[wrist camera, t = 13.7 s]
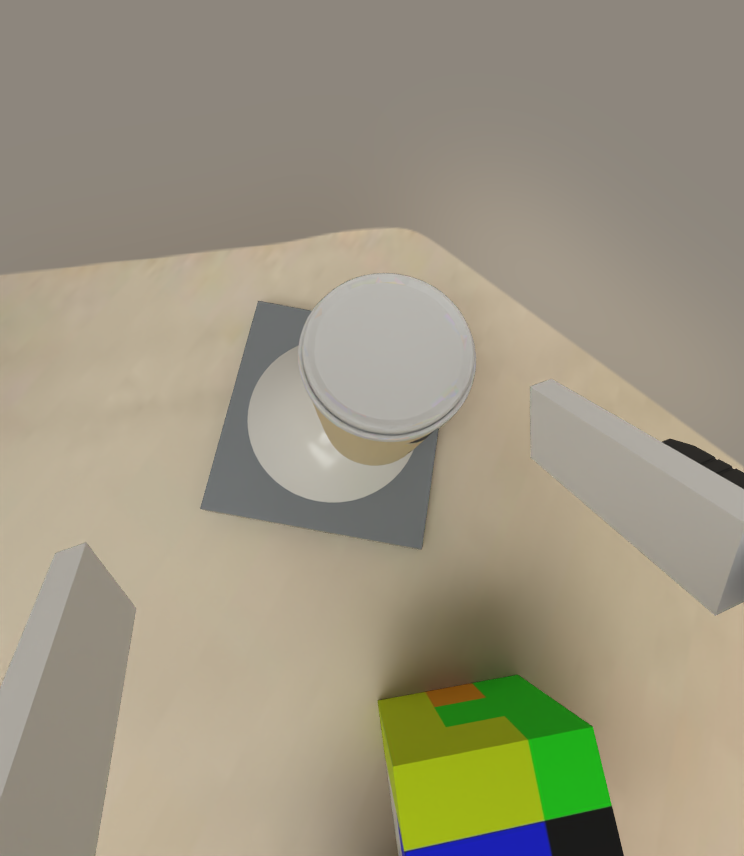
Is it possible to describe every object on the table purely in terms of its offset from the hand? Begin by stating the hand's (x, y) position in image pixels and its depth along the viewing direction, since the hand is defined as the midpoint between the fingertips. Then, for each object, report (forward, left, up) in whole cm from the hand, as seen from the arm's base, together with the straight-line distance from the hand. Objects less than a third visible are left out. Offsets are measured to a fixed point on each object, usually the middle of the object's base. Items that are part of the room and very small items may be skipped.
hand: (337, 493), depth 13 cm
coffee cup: (+1, +9, -20) cm, 21 cm away
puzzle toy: (+11, -14, -21) cm, 28 cm away
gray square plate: (-2, +8, -21) cm, 23 cm away
